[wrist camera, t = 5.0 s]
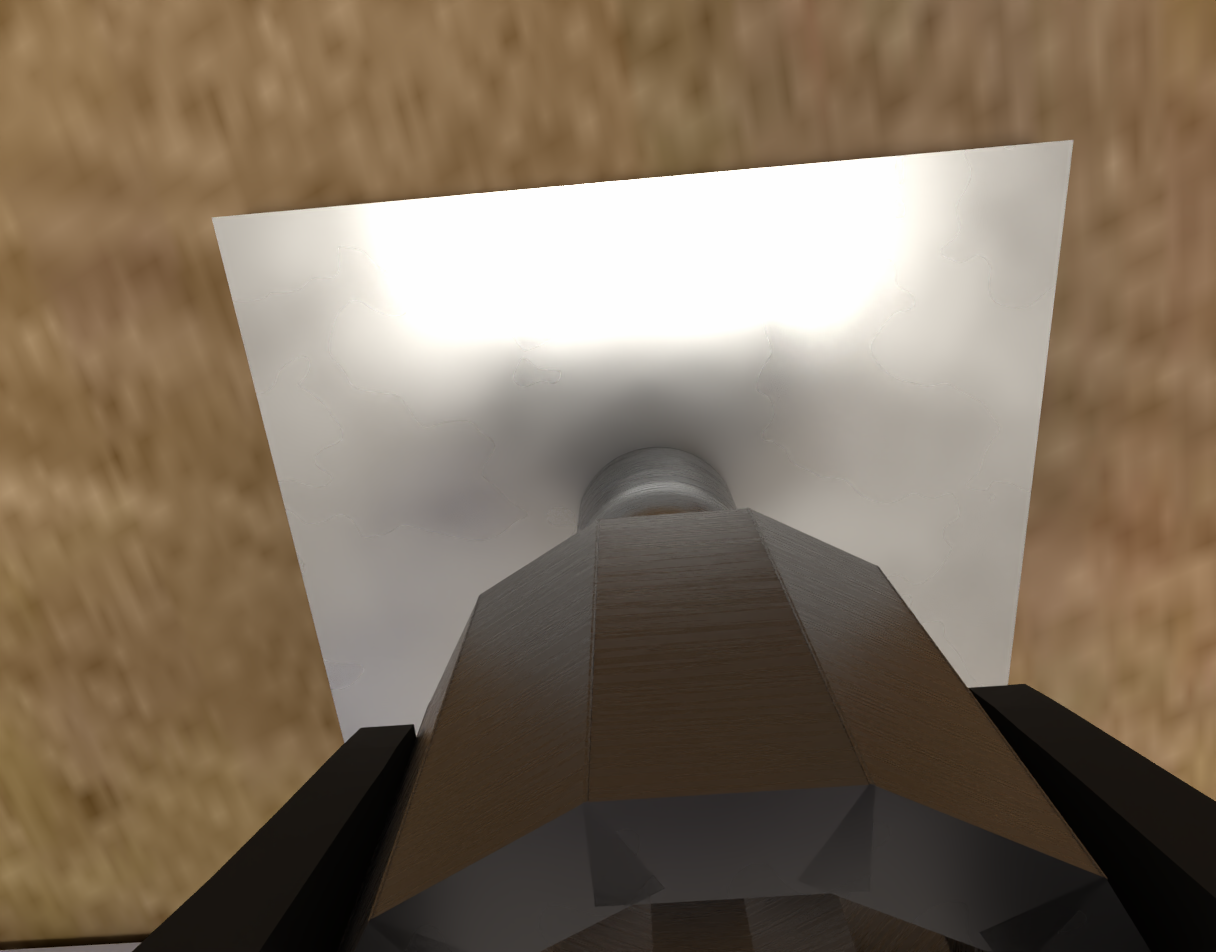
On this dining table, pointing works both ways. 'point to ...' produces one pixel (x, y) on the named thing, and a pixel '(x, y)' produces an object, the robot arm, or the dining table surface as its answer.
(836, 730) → the iron ring
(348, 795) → the robot arm
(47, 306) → the dining table surface
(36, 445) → the dining table surface
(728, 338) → the post stand
